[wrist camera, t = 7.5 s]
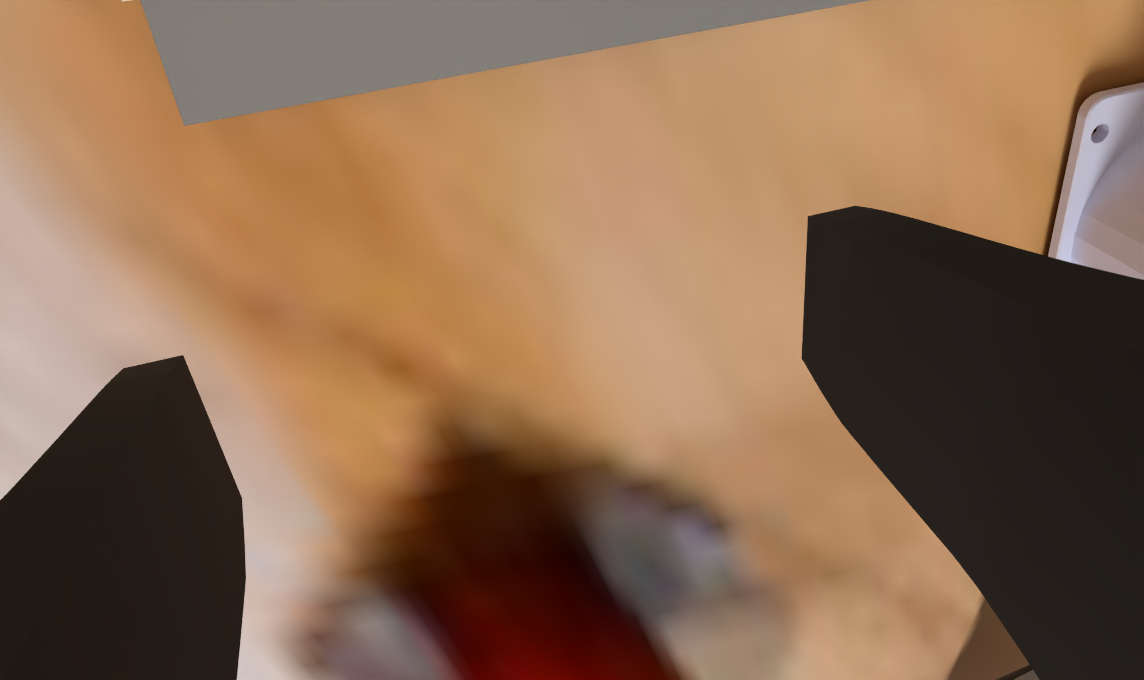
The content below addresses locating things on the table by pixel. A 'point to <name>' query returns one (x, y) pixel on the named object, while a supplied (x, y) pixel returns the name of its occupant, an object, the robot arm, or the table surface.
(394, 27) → the mat
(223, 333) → the table surface
